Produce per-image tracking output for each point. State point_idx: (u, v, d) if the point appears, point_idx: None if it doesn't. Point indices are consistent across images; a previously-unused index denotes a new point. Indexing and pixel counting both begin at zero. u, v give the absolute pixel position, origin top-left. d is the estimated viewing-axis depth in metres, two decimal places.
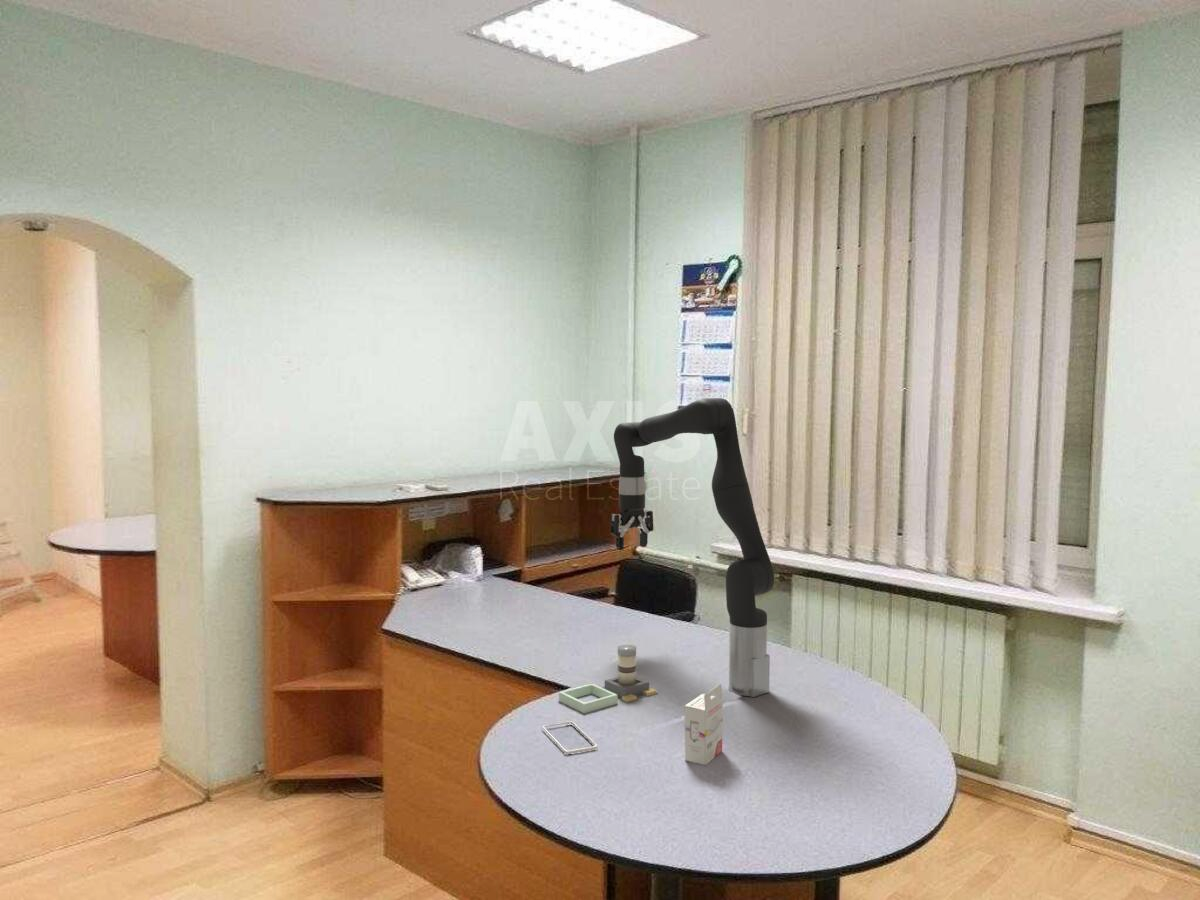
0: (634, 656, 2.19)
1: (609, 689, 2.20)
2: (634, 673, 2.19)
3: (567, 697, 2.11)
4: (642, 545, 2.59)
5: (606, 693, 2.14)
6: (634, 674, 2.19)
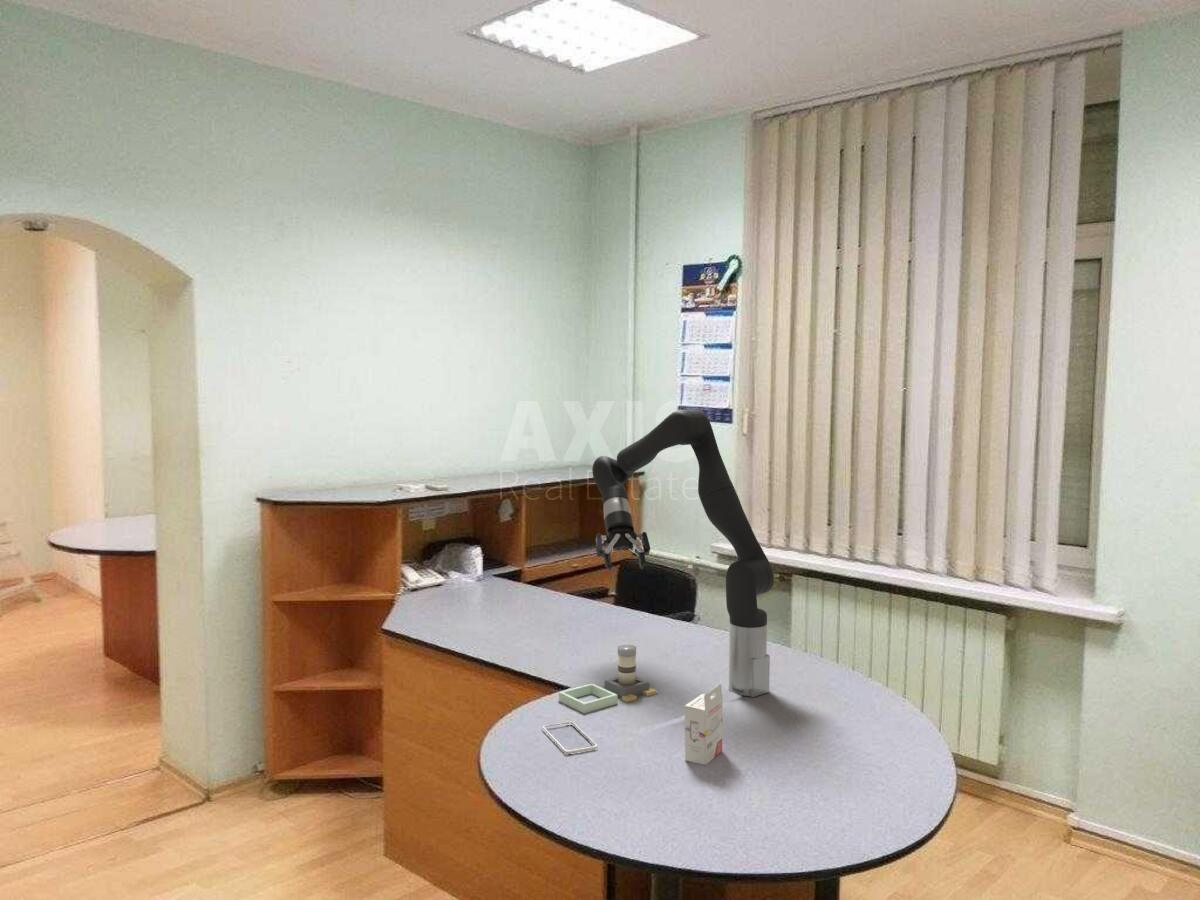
0: (634, 656, 2.19)
1: (609, 689, 2.20)
2: (634, 673, 2.19)
3: (567, 697, 2.11)
4: (640, 565, 2.36)
5: (606, 693, 2.14)
6: (634, 674, 2.19)
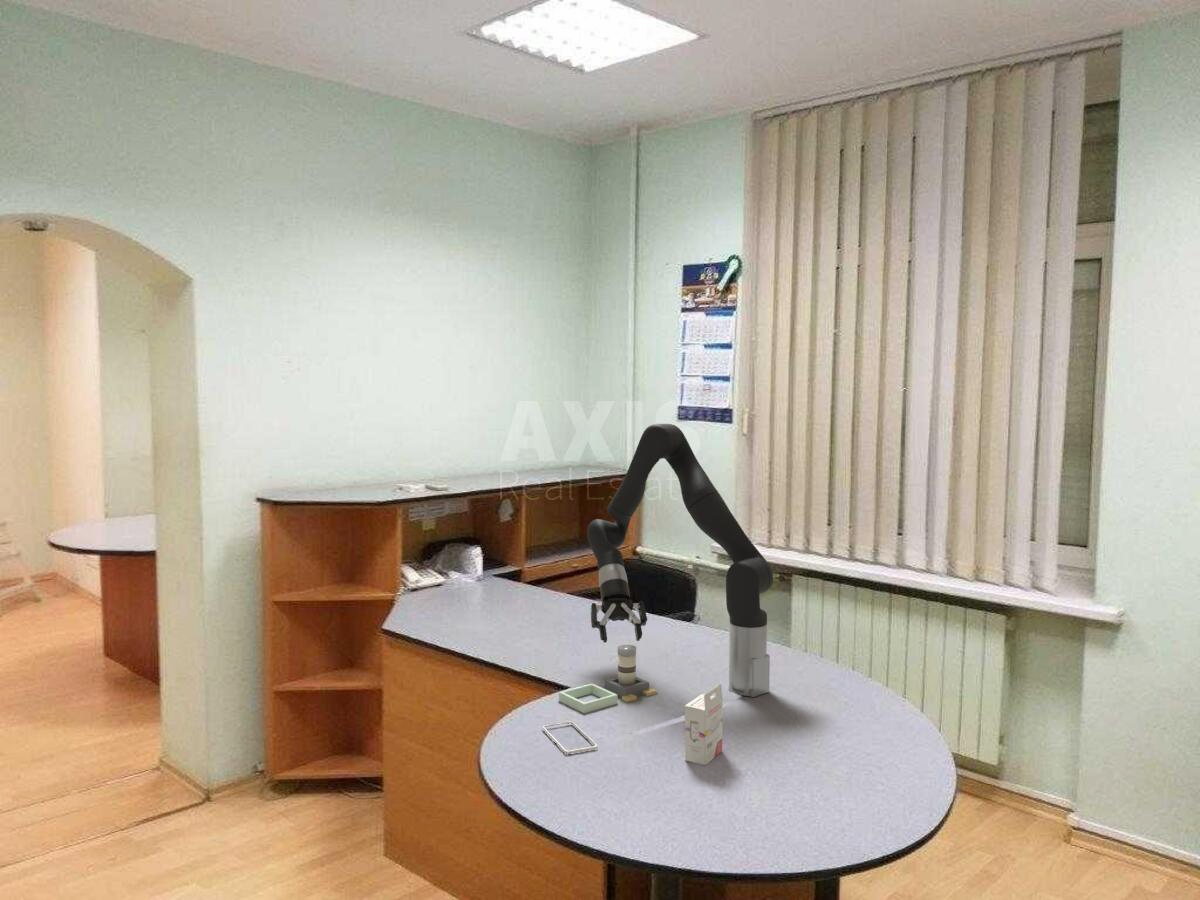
0: (634, 656, 2.19)
1: (609, 689, 2.20)
2: (634, 673, 2.19)
3: (567, 697, 2.11)
4: (637, 638, 2.27)
5: (606, 693, 2.14)
6: (634, 674, 2.19)
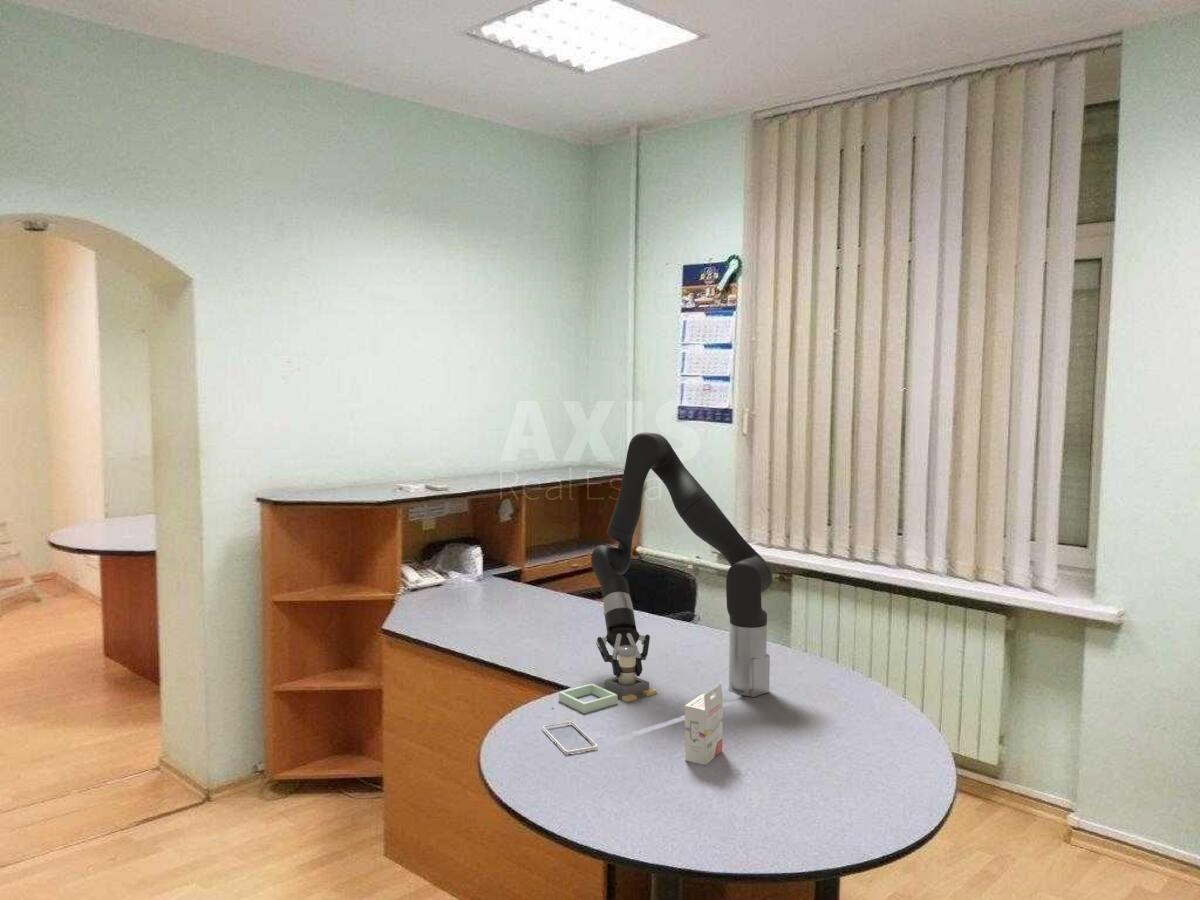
0: (634, 656, 2.19)
1: (609, 689, 2.20)
2: (634, 673, 2.19)
3: (567, 697, 2.11)
4: (637, 673, 2.19)
5: (606, 693, 2.14)
6: (634, 674, 2.19)
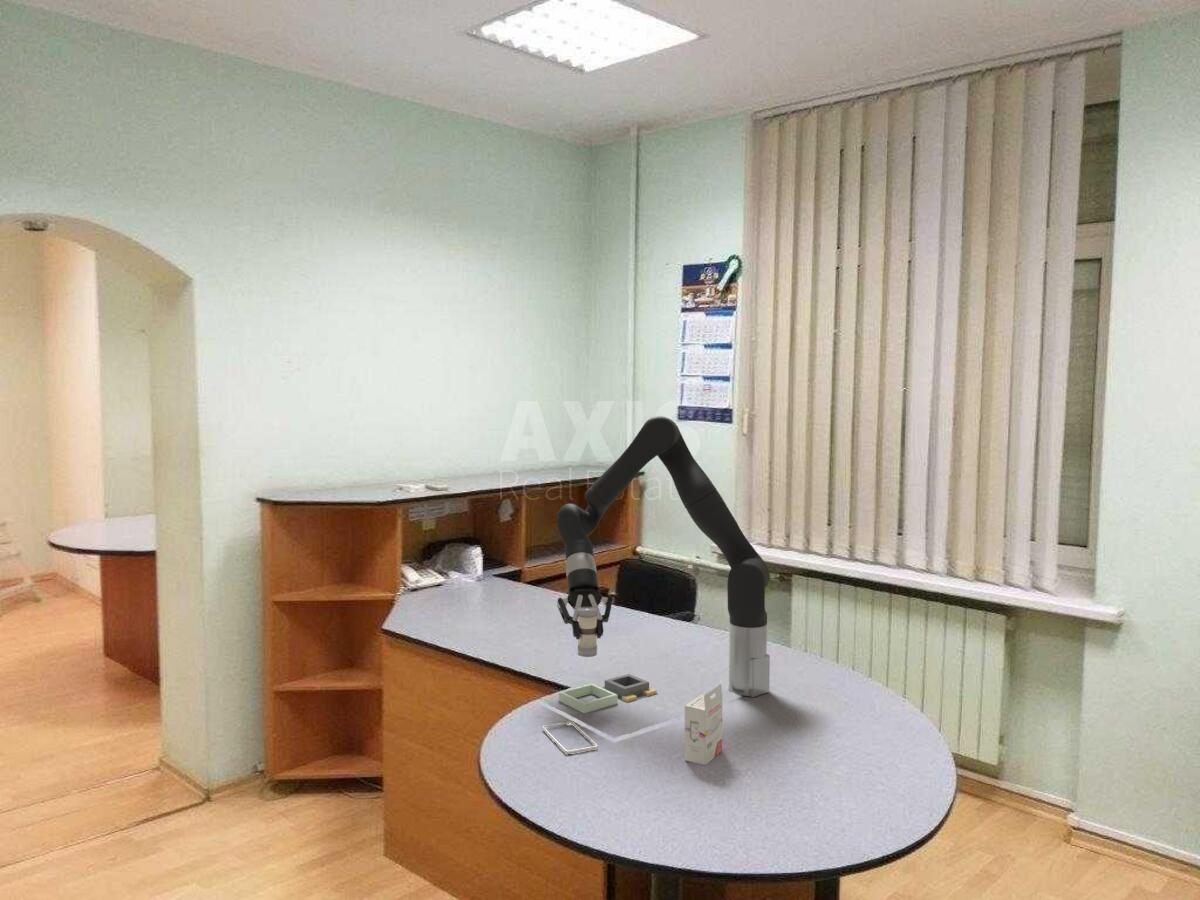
0: (595, 617, 2.11)
1: (609, 689, 2.20)
2: (595, 635, 2.11)
3: (567, 697, 2.11)
4: (597, 635, 2.11)
5: (606, 693, 2.14)
6: (595, 636, 2.11)
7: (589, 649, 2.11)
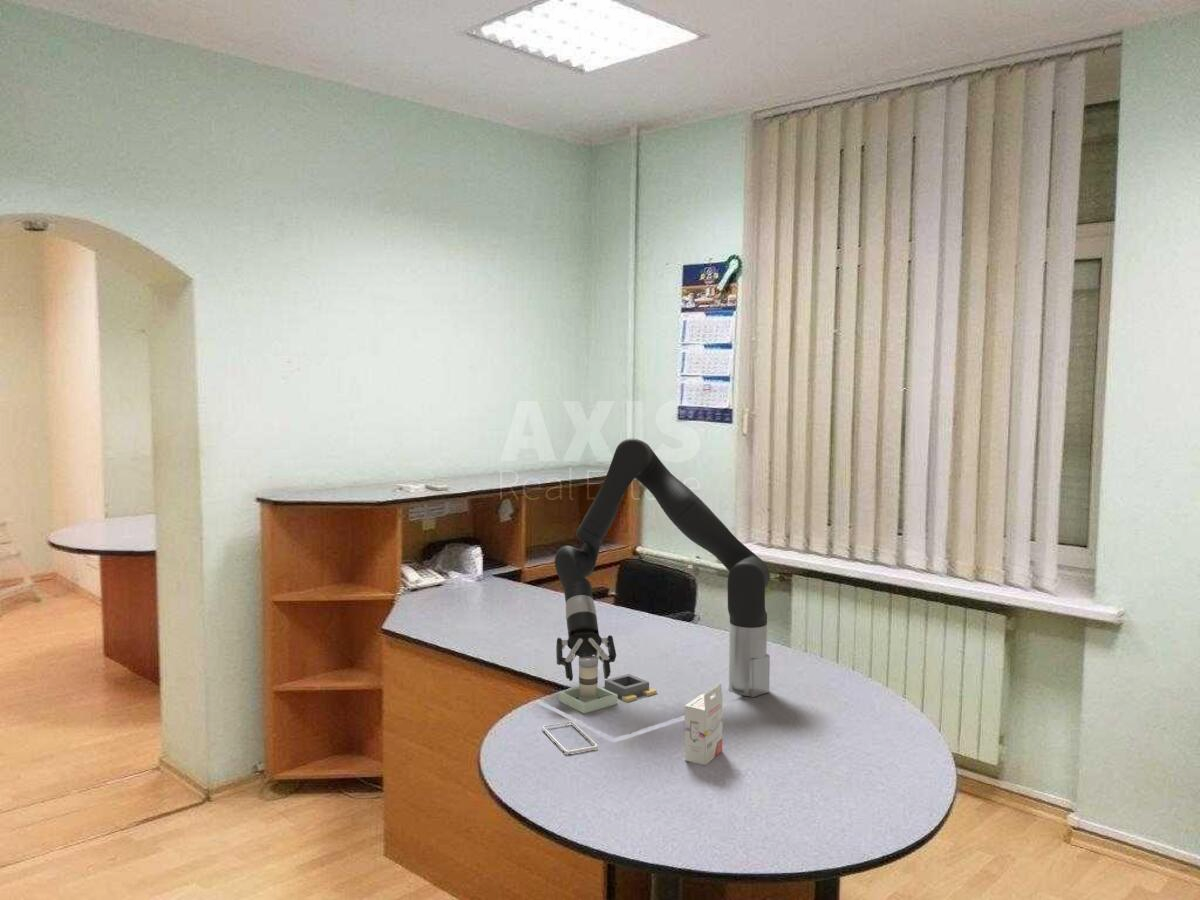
0: (595, 667, 2.12)
1: (609, 689, 2.20)
2: (595, 685, 2.12)
3: (567, 697, 2.11)
4: (605, 675, 2.12)
5: (606, 693, 2.14)
6: (595, 686, 2.12)
7: (589, 699, 2.11)
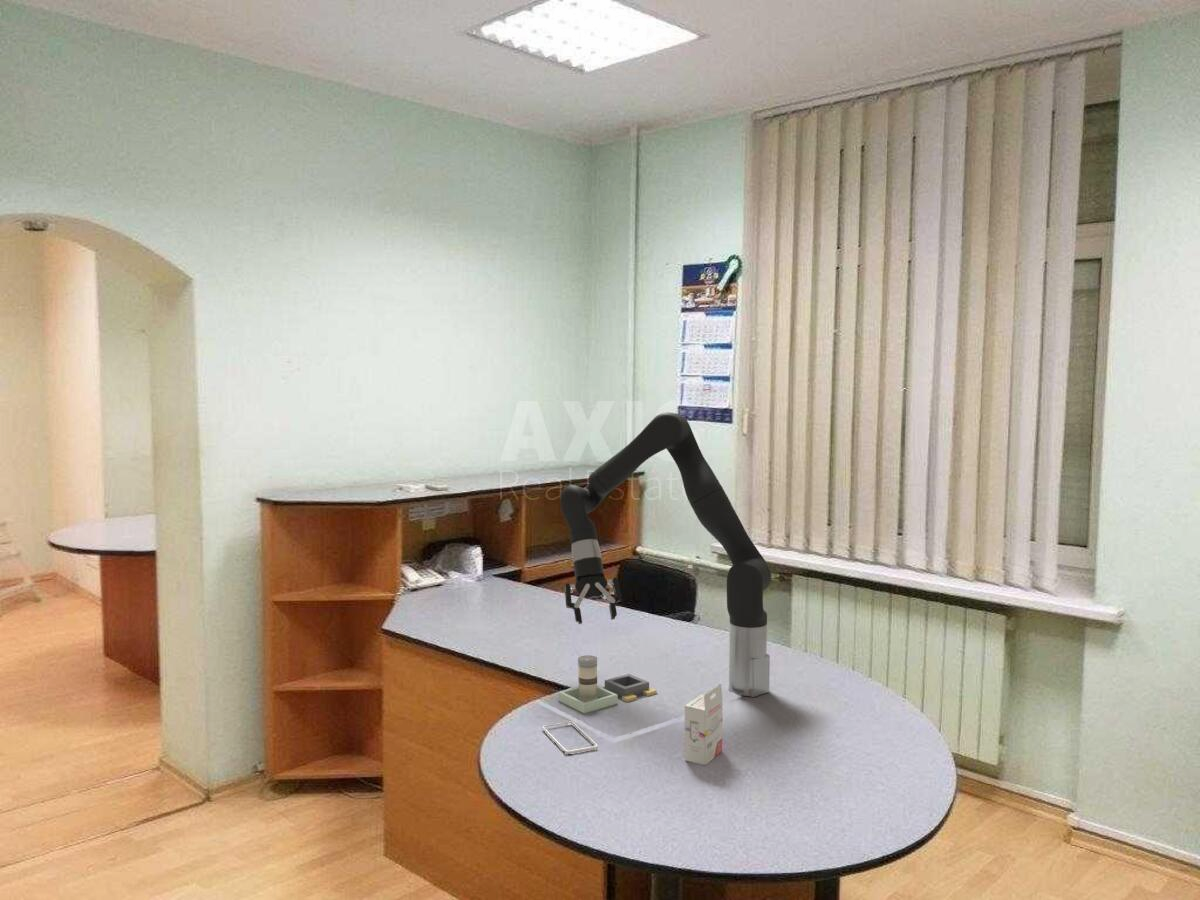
0: (595, 667, 2.12)
1: (609, 689, 2.20)
2: (595, 685, 2.12)
3: (567, 697, 2.11)
4: (611, 617, 2.28)
5: (606, 693, 2.14)
6: (595, 686, 2.12)
7: (589, 699, 2.11)
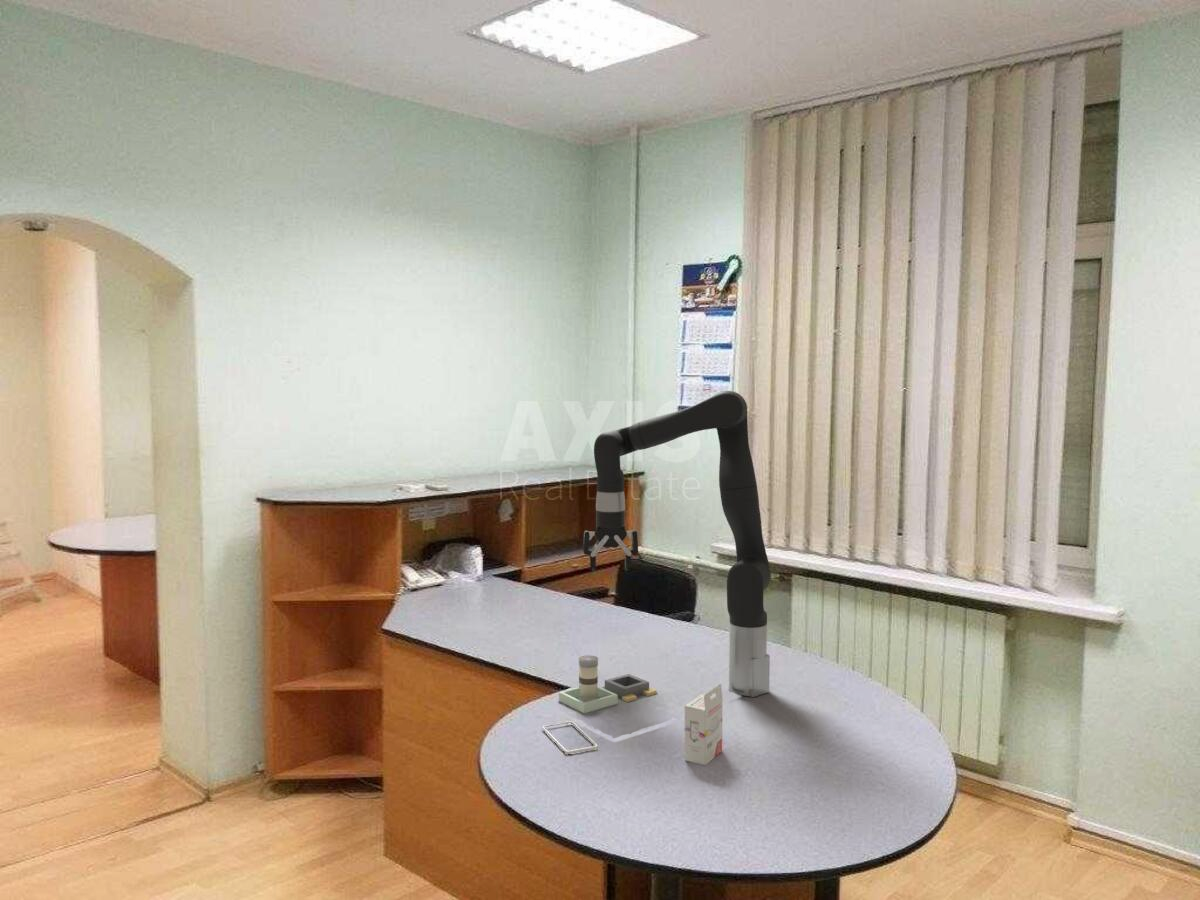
0: (595, 667, 2.12)
1: (609, 689, 2.20)
2: (595, 685, 2.12)
3: (567, 697, 2.11)
4: (625, 568, 2.33)
5: (606, 693, 2.14)
6: (595, 686, 2.12)
7: (589, 699, 2.11)
